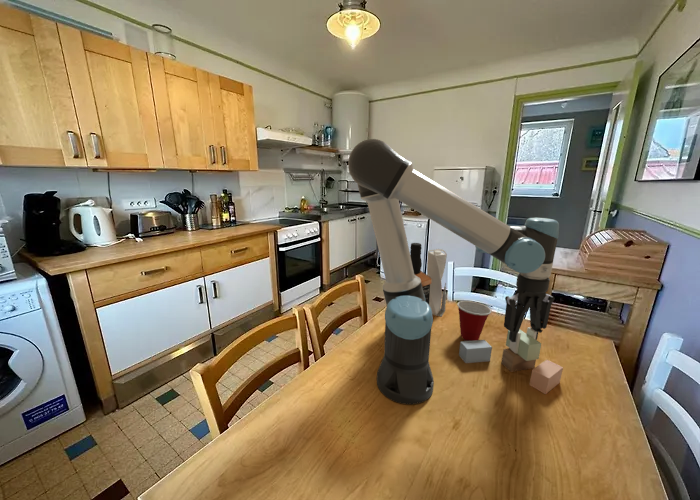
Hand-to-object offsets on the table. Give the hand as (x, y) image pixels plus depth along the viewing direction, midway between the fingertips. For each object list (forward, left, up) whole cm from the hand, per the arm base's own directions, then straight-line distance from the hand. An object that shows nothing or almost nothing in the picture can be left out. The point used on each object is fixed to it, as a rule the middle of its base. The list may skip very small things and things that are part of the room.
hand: (521, 349), depth 84 cm
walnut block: (0, 0, -6) cm, 6 cm away
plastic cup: (-6, +16, -6) cm, 18 cm away
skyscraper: (-11, +36, -6) cm, 38 cm away
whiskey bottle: (-24, +26, -6) cm, 36 cm away
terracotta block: (+2, -8, -6) cm, 10 cm away
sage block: (0, 0, 0) cm, 1 cm away
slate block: (-11, +5, -6) cm, 13 cm away
